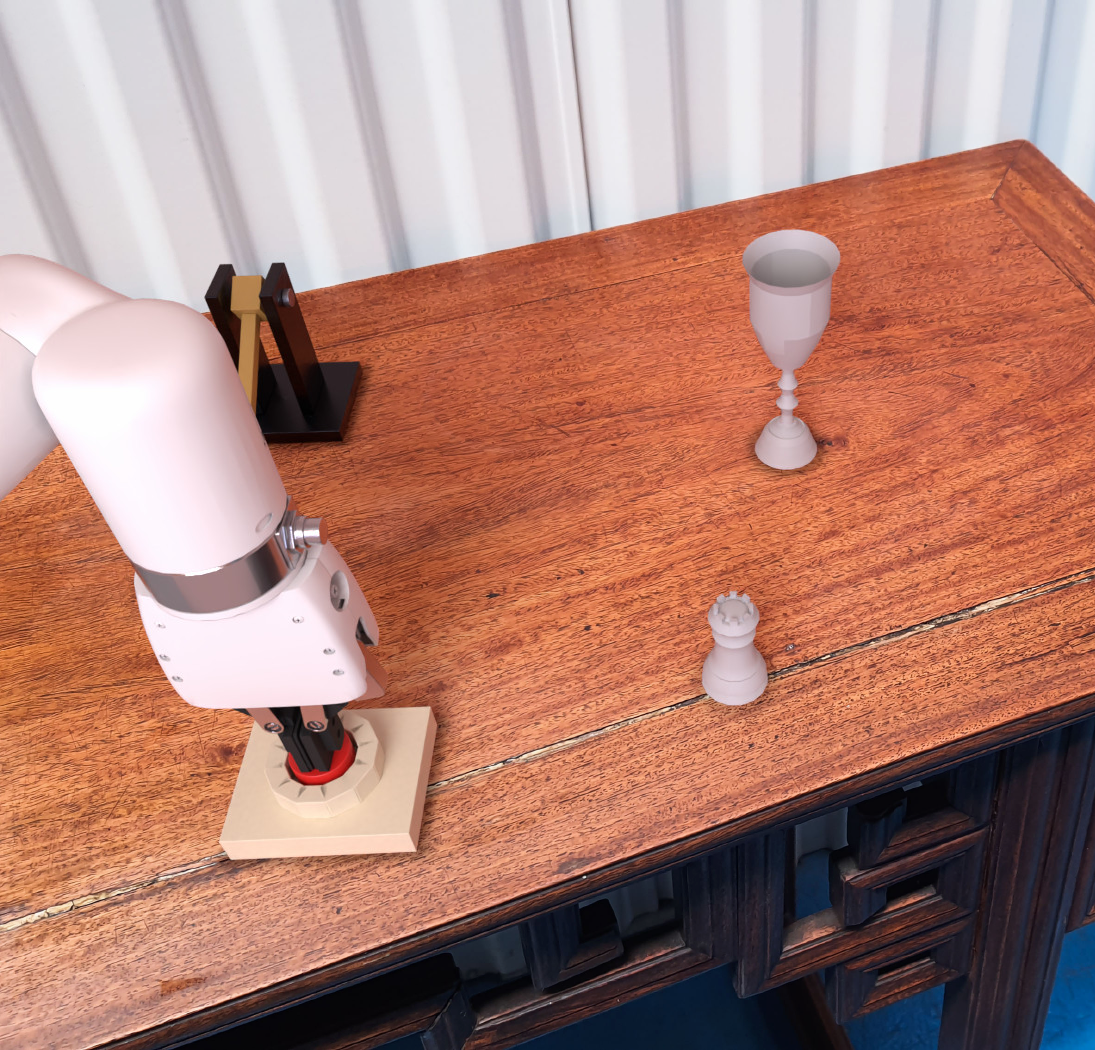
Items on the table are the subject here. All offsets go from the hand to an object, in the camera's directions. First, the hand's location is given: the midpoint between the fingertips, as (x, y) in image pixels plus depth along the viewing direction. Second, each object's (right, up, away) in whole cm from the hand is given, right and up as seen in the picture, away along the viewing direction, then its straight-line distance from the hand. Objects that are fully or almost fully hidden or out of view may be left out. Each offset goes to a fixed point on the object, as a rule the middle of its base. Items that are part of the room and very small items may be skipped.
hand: (321, 750), depth 69 cm
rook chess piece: (+24, +3, +9) cm, 26 cm away
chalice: (+28, +20, +25) cm, 43 cm away
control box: (0, -3, +3) cm, 5 cm away
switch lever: (-13, +25, +21) cm, 35 cm away
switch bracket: (-13, +23, +28) cm, 39 cm away
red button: (0, -1, +1) cm, 2 cm away
